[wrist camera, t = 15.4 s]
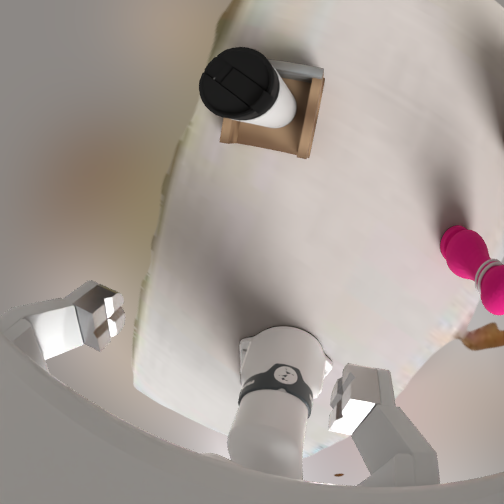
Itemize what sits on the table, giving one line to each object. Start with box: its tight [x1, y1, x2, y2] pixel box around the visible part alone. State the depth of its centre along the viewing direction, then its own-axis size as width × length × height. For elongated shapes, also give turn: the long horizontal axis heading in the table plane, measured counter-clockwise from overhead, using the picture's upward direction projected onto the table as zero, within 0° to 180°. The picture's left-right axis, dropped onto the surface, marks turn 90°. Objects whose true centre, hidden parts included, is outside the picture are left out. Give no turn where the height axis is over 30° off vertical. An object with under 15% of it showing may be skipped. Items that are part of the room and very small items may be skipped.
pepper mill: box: [440, 225, 504, 315], centre depth 29 cm, size 7×7×20 cm
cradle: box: [220, 59, 325, 159], centre depth 34 cm, size 12×12×7 cm
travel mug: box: [199, 47, 297, 128], centre depth 27 cm, size 6×7×20 cm
